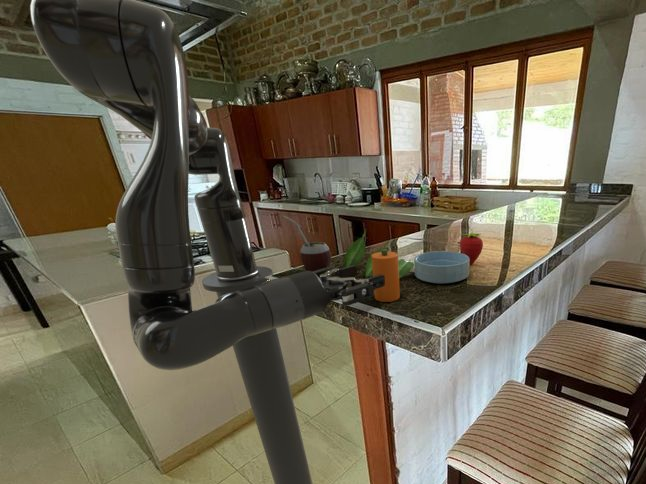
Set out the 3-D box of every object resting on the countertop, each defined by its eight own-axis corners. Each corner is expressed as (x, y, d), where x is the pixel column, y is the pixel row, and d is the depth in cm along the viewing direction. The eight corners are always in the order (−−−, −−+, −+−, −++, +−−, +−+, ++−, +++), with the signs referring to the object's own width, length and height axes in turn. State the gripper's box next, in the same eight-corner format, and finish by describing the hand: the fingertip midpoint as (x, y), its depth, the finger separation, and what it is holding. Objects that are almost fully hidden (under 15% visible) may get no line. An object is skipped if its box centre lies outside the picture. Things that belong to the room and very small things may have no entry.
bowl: (403, 278, 80) (403, 260, 78) (435, 265, 89) (435, 248, 87) (448, 289, 73) (449, 269, 71) (478, 273, 82) (479, 256, 80)
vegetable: (369, 298, 69) (365, 250, 65) (387, 290, 73) (383, 245, 69) (388, 304, 66) (384, 254, 62) (405, 296, 70) (403, 249, 66)
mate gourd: (339, 275, 83) (331, 213, 77) (313, 284, 78) (301, 218, 71) (320, 270, 88) (311, 210, 81) (294, 278, 82) (282, 215, 76)
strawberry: (461, 269, 86) (462, 230, 81) (457, 261, 92) (458, 224, 88) (484, 268, 86) (486, 229, 81) (478, 260, 92) (481, 223, 88)
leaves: (400, 300, 83) (422, 262, 89) (400, 286, 77) (423, 246, 83) (337, 272, 86) (362, 237, 91) (333, 257, 80) (359, 221, 85)
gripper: (308, 288, 48) (392, 262, 58) (265, 268, 57) (345, 249, 67) (316, 334, 51) (395, 302, 61) (275, 308, 60) (349, 284, 70)
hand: (369, 274), depth 64 cm, fingers open, 8 cm apart
